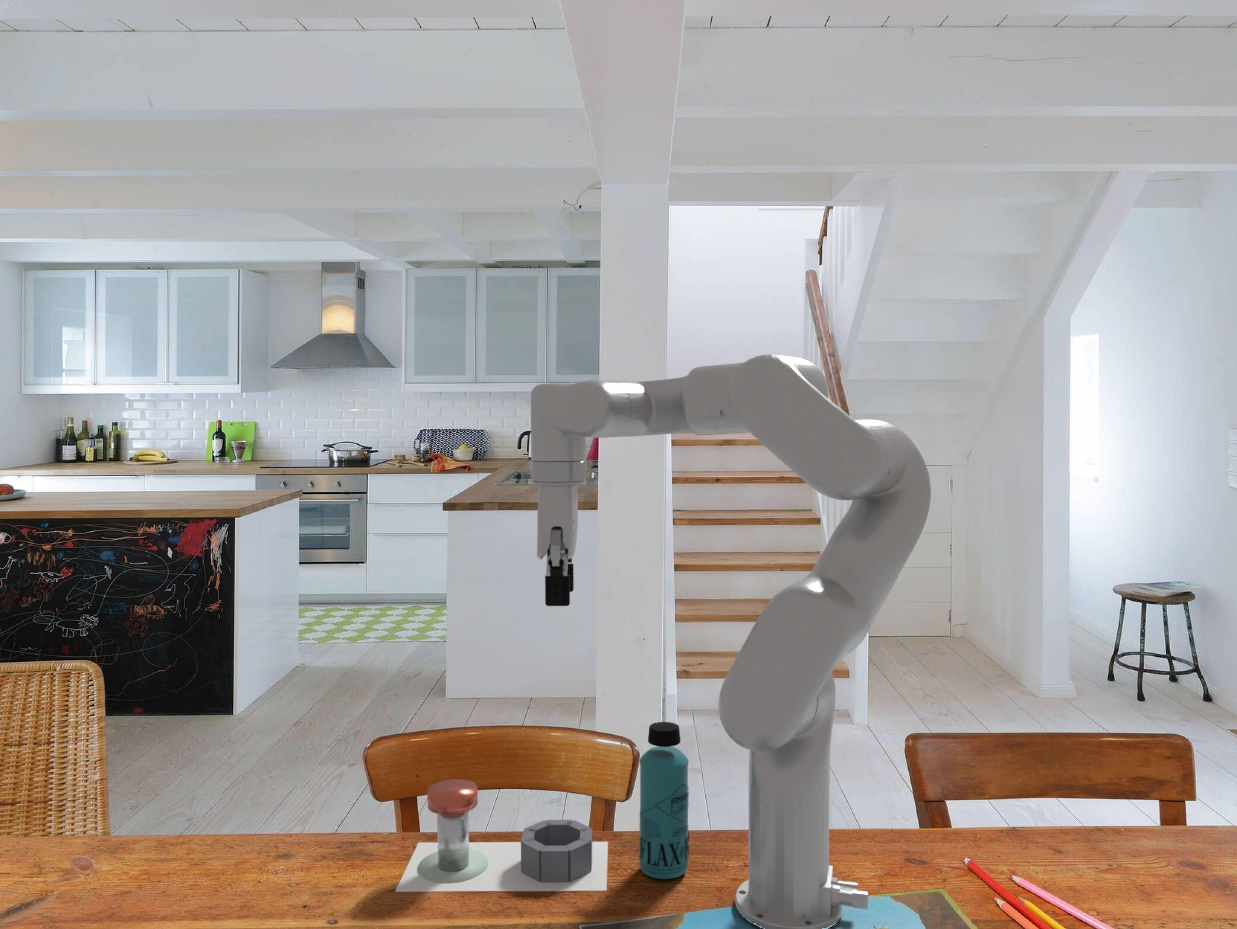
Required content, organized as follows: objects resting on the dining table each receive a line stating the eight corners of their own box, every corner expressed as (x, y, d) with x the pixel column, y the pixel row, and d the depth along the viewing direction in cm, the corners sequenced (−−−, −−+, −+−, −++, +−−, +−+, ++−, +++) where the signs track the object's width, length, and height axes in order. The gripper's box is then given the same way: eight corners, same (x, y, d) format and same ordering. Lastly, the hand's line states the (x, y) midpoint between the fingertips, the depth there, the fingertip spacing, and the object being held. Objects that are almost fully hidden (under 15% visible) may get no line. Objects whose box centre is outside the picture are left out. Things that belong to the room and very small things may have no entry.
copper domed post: (442, 850, 123) (441, 777, 123) (486, 856, 121) (485, 782, 121) (419, 873, 117) (418, 796, 117) (465, 879, 115) (464, 801, 115)
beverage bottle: (629, 884, 116) (629, 729, 115) (652, 861, 122) (651, 713, 121) (676, 896, 113) (676, 737, 112) (697, 872, 119) (697, 721, 118)
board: (608, 848, 126) (607, 813, 126) (606, 898, 113) (606, 858, 113) (418, 849, 126) (417, 814, 126) (395, 899, 113) (394, 859, 113)
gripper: (537, 470, 134) (538, 587, 135) (524, 478, 117) (526, 611, 118) (588, 470, 134) (589, 586, 135) (583, 478, 117) (584, 611, 118)
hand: (560, 598), depth 126 cm, fingers open, 9 cm apart
